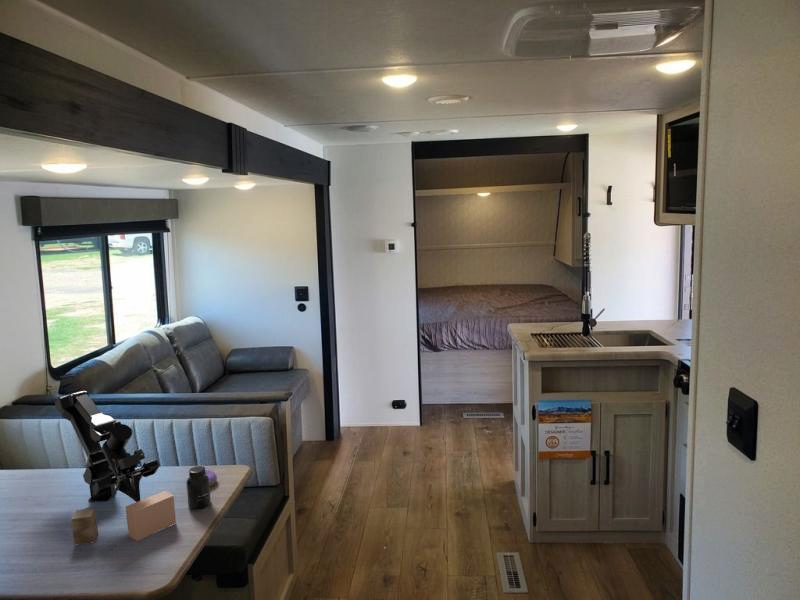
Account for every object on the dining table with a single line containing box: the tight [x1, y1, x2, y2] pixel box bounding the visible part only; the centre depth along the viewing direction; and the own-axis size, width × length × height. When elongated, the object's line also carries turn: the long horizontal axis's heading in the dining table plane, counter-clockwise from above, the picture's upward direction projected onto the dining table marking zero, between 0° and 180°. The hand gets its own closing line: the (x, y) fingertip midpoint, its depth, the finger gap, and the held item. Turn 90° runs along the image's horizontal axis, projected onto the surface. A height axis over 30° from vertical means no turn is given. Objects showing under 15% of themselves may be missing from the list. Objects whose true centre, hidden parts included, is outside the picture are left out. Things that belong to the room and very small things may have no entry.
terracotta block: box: [125, 490, 177, 542], centre depth 180 cm, size 5×12×9 cm, turn 139°
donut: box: [205, 469, 218, 488], centre depth 208 cm, size 10×9×5 cm
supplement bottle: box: [185, 465, 212, 511], centre depth 193 cm, size 7×7×12 cm
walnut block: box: [71, 507, 99, 545], centre depth 176 cm, size 5×5×8 cm
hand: (138, 501), depth 184 cm, fingers closed
